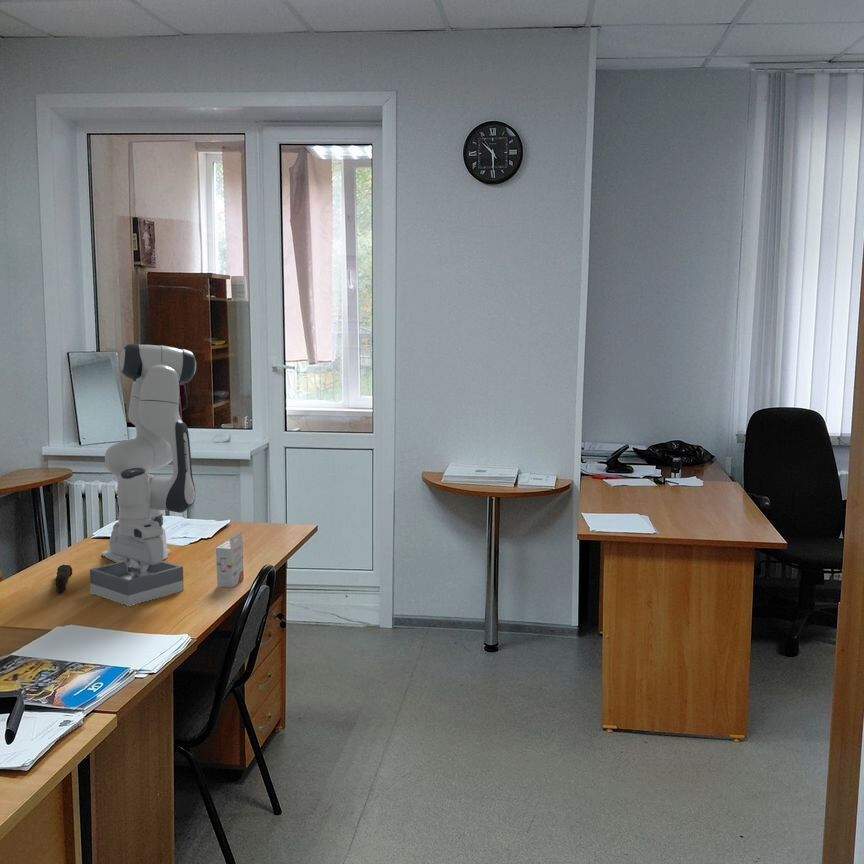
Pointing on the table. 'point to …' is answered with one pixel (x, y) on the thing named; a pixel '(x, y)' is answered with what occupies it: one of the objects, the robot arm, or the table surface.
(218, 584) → the ink cartridge box
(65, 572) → the hand tool
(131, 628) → the table surface
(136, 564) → the peg
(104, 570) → the open gray box
